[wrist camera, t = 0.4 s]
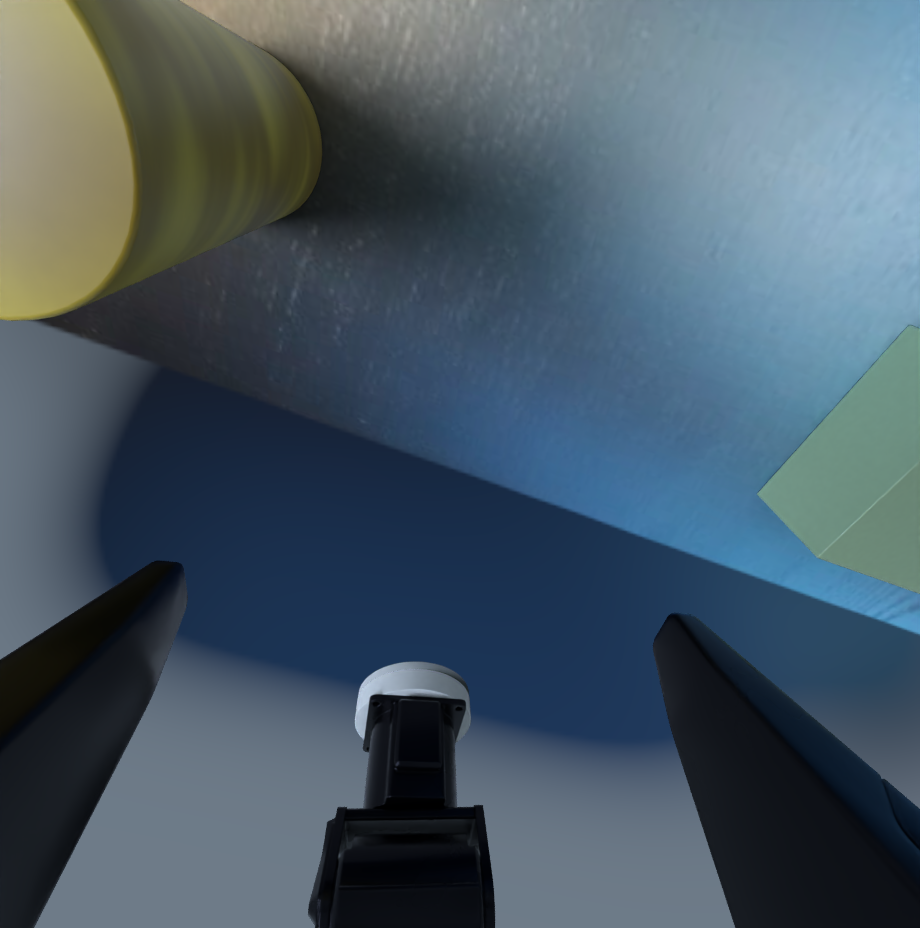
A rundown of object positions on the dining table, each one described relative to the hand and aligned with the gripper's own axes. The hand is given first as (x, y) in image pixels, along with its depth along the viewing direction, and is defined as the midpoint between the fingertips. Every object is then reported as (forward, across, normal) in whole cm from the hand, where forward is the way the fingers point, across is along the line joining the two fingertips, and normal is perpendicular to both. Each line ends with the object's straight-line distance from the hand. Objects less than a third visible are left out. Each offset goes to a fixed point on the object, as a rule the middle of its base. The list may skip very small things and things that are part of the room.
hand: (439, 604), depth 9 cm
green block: (+15, -24, +1) cm, 28 cm away
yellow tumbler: (+14, +8, -6) cm, 18 cm away
